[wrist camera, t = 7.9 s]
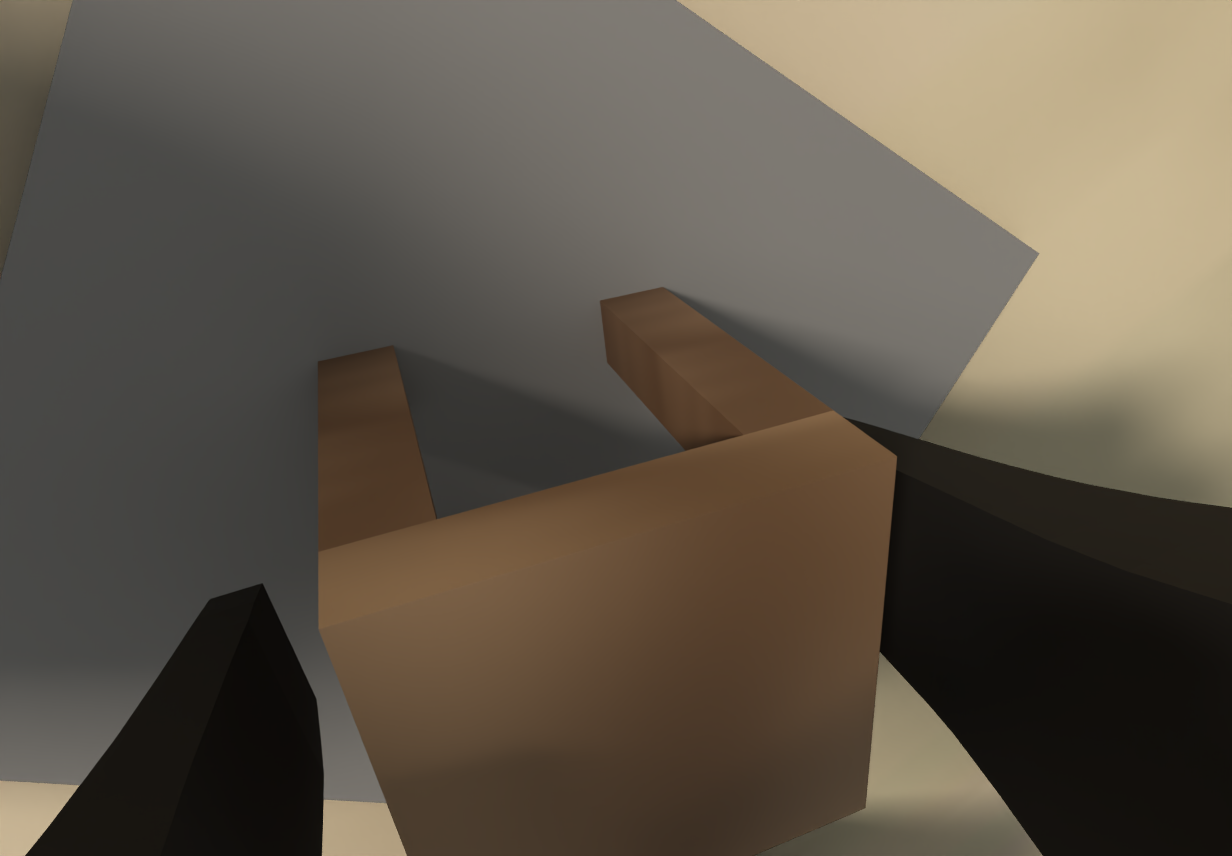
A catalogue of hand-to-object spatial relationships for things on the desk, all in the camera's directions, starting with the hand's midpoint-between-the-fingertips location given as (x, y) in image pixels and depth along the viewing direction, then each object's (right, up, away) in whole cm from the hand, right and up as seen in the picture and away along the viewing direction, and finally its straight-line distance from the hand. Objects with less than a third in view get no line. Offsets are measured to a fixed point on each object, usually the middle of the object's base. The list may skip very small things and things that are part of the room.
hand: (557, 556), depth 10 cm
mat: (-1, +1, +2) cm, 3 cm away
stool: (-1, +1, +2) cm, 2 cm away
